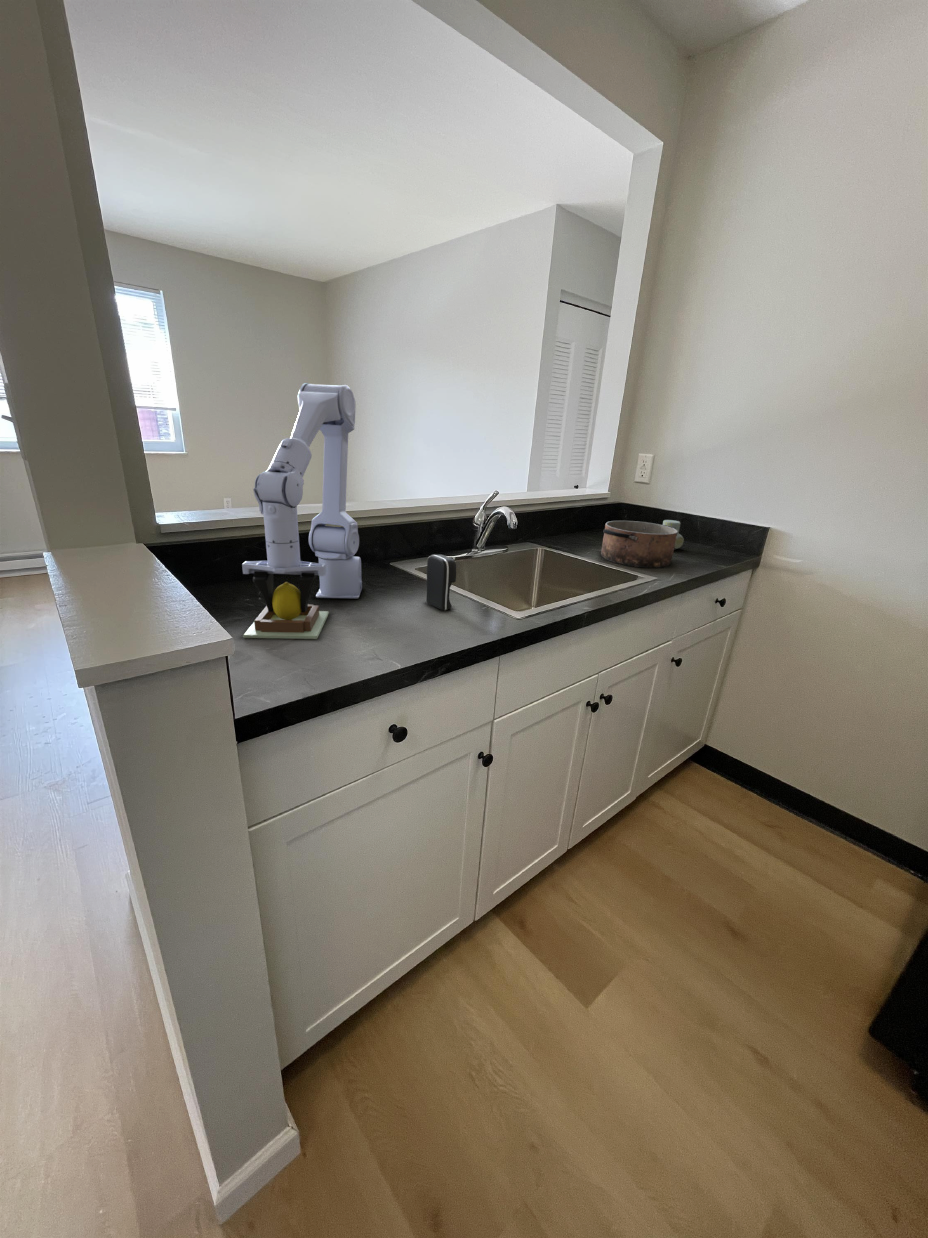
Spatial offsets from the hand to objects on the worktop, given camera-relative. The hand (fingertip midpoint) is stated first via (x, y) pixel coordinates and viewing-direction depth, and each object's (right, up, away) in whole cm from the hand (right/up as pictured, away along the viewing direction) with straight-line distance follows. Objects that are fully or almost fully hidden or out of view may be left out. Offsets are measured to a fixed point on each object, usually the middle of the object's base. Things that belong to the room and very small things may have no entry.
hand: (287, 610), depth 95 cm
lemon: (0, -2, +1) cm, 3 cm away
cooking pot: (+91, +18, +70) cm, 116 cm away
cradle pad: (0, -3, +1) cm, 3 cm away
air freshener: (+109, +24, +89) cm, 143 cm away
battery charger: (+28, +1, +16) cm, 33 cm away
